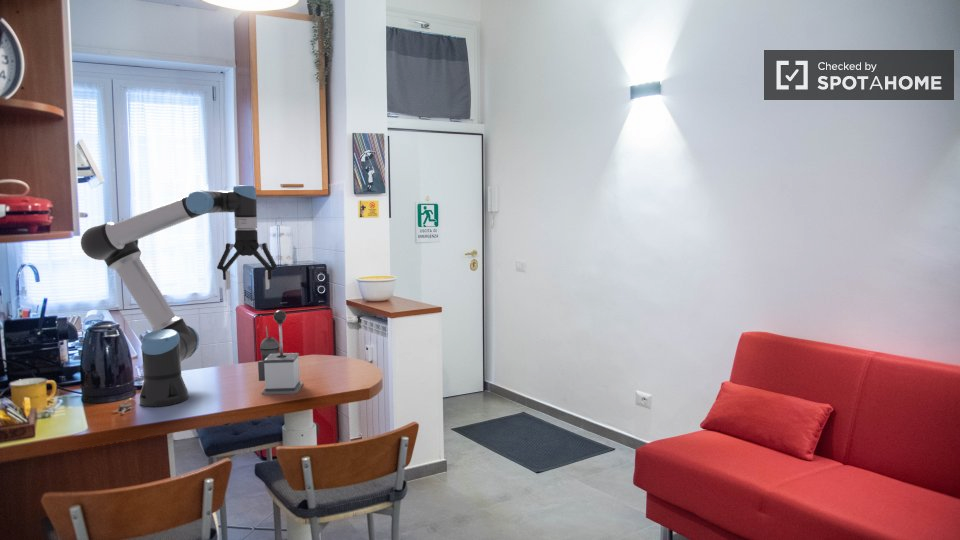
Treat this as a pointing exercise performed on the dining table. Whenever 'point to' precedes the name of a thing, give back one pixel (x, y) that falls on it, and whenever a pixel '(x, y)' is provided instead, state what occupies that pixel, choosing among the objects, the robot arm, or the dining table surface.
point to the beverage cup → (269, 346)
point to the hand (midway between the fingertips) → (248, 289)
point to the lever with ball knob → (280, 327)
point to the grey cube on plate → (280, 374)
